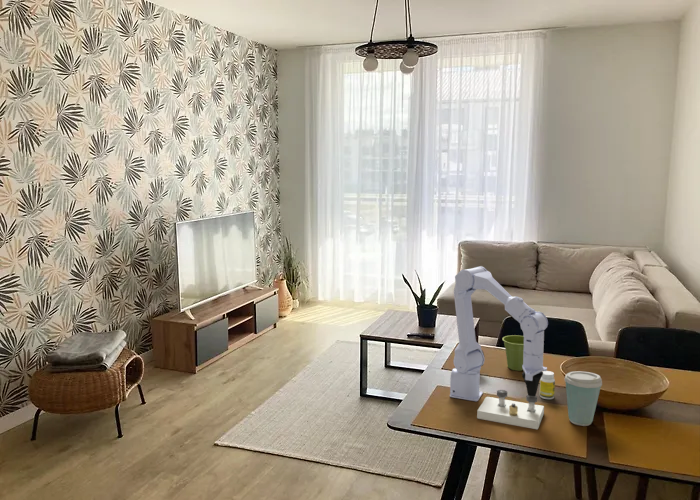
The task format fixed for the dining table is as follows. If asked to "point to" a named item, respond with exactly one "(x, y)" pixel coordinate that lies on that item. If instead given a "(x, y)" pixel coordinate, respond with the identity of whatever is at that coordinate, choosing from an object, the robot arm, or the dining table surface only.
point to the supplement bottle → (547, 385)
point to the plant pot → (514, 351)
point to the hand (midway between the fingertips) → (531, 395)
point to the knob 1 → (502, 397)
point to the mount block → (501, 414)
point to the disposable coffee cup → (582, 396)
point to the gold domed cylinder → (513, 410)
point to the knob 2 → (531, 402)
